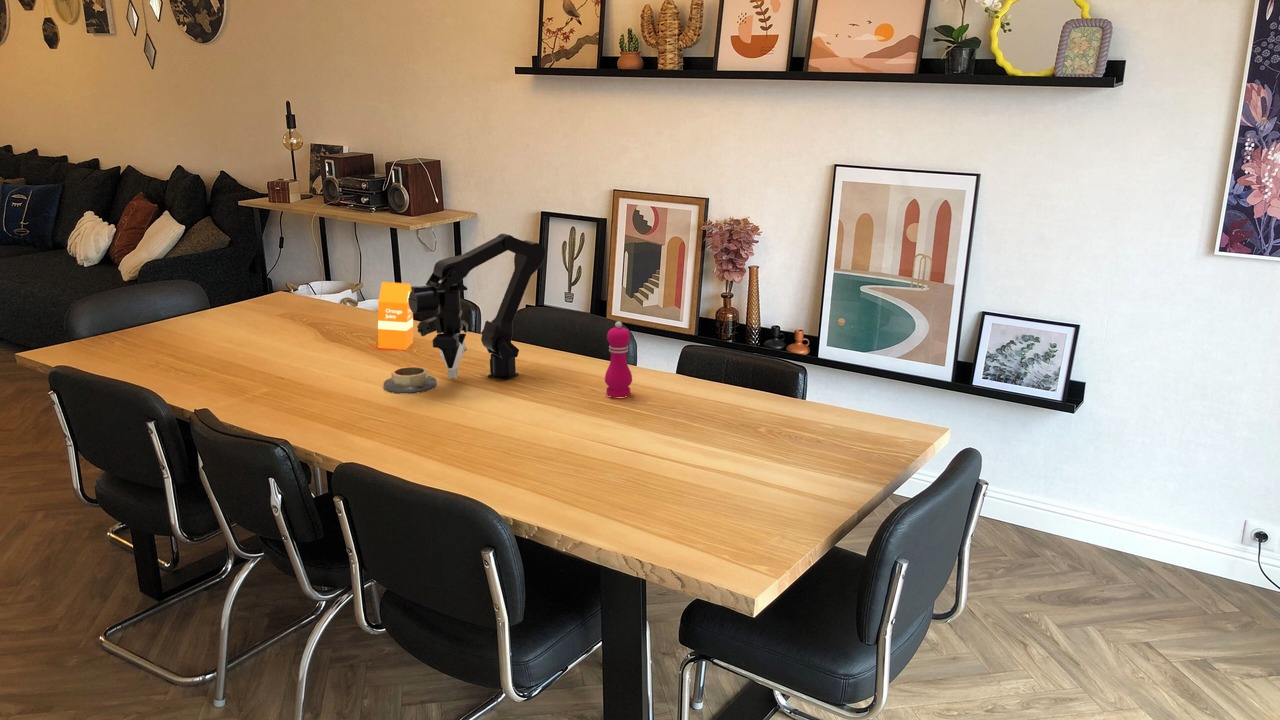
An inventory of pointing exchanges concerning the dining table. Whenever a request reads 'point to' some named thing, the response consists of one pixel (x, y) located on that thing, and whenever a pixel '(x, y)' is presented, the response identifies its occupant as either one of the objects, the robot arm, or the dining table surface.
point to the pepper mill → (618, 362)
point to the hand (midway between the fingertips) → (452, 364)
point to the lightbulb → (454, 370)
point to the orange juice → (394, 316)
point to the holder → (410, 380)
